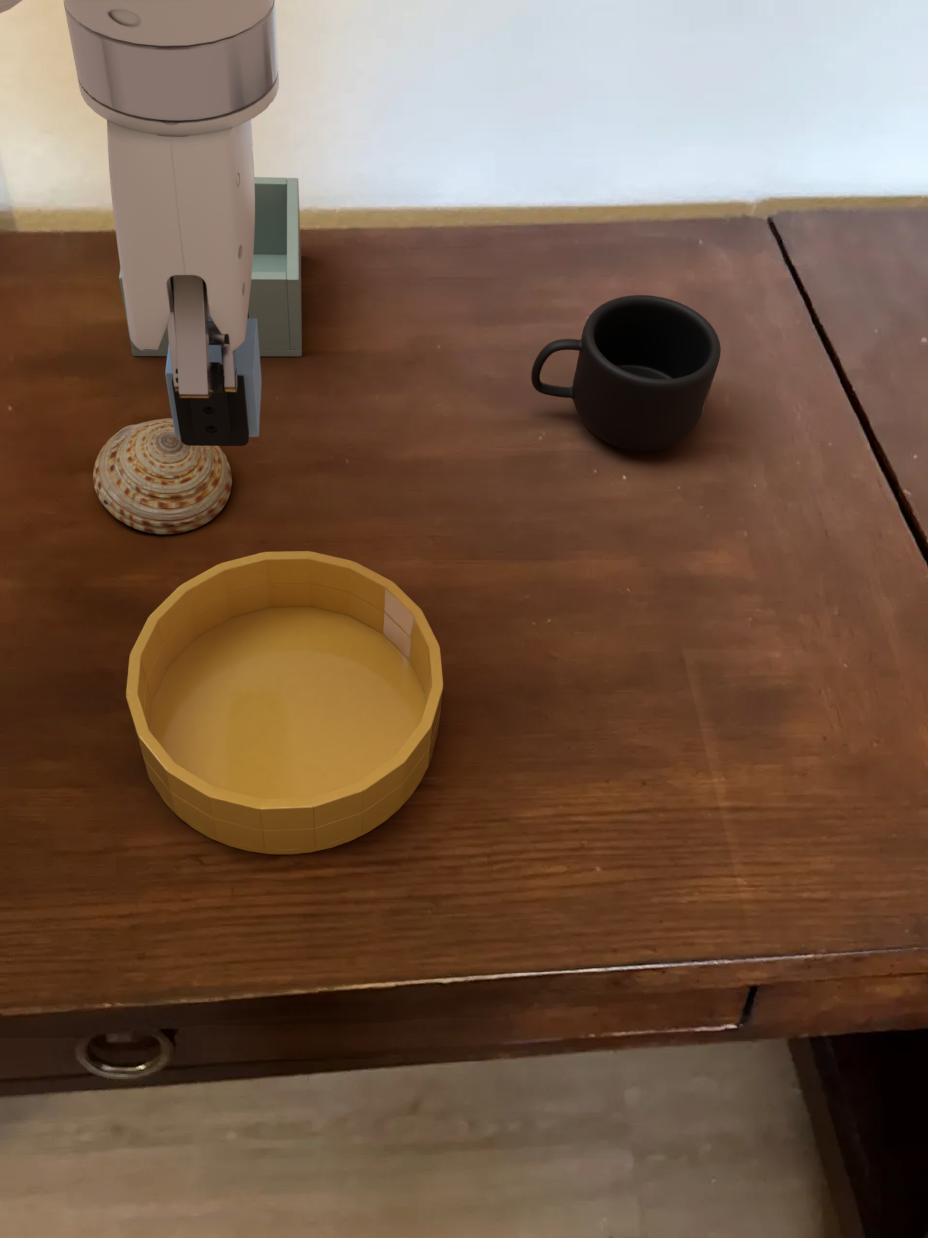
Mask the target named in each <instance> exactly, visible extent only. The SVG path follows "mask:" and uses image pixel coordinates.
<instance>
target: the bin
mask: <svg viewBox="0 0 928 1238" xmlns="http://www.w3.org/2000/svg"><path fill="white" fill-rule="evenodd" d="M254 183H255V230H254V252H253V265H252V277H251V288H250V297H249V307H248V311H249V318H255V319H257V326H258V340H259V353H260V357H302V356H303V332H302V331H303V329H302V328H303V327H302V325H303V322H302V319H303V318H302V316H303V315H302V314H303V313H302V245H301V244H302V243H301V242H302V241H301V217H300V216H301V213H300V190H299V189H300V187H299V178H298V177H270V176H269V177H268V176H267V177H266V176H254ZM118 280H119V281H118V282H119V285H120V290H121V297H122V303H123V308H124V313H125V319H126V324H127V326H128V320H127V313H126V305H125V298H124V290H123V283H122V275H121V268H120V267H119V274H118ZM127 330H128V332H129V328H128V327H127ZM128 336H129V337H130V335H129V334H128ZM129 341H130V347H131V352H132V356H133V357H167V355H168V347H169V339H168V329H167V327H166V330H165V333H164V335H163V338H162V340H161V343H160V345H159V348H158V350H152V349H146V350H140V349H138V348H137V347H136V346H135V345H134V344H133V342H132V341H131V339H130V338H129Z"/></svg>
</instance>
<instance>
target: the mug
mask: <svg viewBox="0 0 928 1238" xmlns="http://www.w3.org/2000/svg"><path fill="white" fill-rule="evenodd" d="M581 333H582V334H581V338H580V339H576V338H561V339H556V340H553V341H550V342H549V343H548V344H546V345H545V346H544V347H543V348H542V349H541V351H540V352H539V353H538V354H537V356H536V358H535V360H534V362H533V365H532V367H531V374H530V380H531V384H532V386H533V388H534V390H536V391H537V392H538V393H540V394H543V395H547V396H551V397H557V398H563V399H564V398H566V399H572V401H573V404H574V407H575V410H576V413H577V414H578V416H579V418H580V420H581V422H582V423H583V424H584V426H585V427H586V428H587V430H589V431H590V432H591V434H593V435H594V436H596V437H597V438H599V439H600V440H602V441H603V442H605V443H607V444H609V445H611V446H614V447H616V448H620V449H624V450H628V451H635V452H652V451H657V450H663V449H665V448H668V447H669V448H670V447H671V446H674V445H676V444H678V443H679V442H680V441H682V440H683V439H685V438H686V437H687V436H688V435H689V434H691V432H693V430H694V429H695V428H696V426H697V425H698V423H700V420H701V418H702V416H703V414H704V409H705V408H706V405H707V401H708V398H709V394H710V391H711V388H712V385H713V381H714V378H715V376H716V373H717V369H718V366H719V362H720V358H721V350H722V349H721V342H720V339H719V335H718V333H717V332H716V330H715V328H714V327H713V325H712V324H711V322H709V321H708V320H707V319H706V317H704V316H703V315H701V313H699V312H698V311H696V310H695V309H693V308H691V307H689V306H688V305H686V304H683V303H682V302H679V301H676V300H674V299H670V298H667V297H663V296H656V295H648V294H647V295H646V294H631V295H625V296H619V297H616V298H613V299H610V300H608V301H606V302H604V303H602V304H600V305H599V306H598V307H596V308H595V309H594V310H593V312H591V314H590V315H588V318H587V319H586V321H585V324H584V326H583V330H582V332H581ZM560 351H578V355H577V361H576V366H575V371H574V375H573V376H574V377H573V381H572V386H560V385H553V384H548V383H545V382H542V381H541V371H542V368H543V367H544V364H545V363H546V361H547V360H548V359H549V358H550V357H551V355H553V354H554V353H556V352H560Z"/></svg>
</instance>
